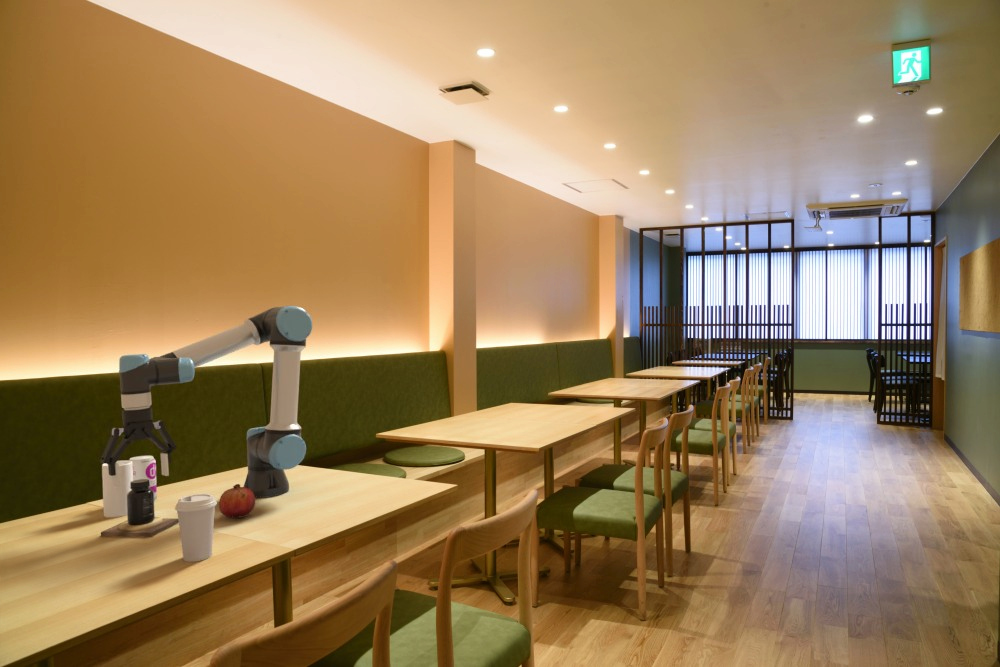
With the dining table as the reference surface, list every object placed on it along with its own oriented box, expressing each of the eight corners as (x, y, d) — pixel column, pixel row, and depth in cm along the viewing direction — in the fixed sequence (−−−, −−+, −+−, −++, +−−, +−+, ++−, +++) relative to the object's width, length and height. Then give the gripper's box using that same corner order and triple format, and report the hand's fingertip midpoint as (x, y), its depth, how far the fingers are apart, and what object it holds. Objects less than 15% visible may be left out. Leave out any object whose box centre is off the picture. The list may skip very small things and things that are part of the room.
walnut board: (179, 522, 191) (178, 515, 191) (151, 536, 178) (150, 529, 178) (132, 522, 193) (131, 515, 193) (100, 536, 180) (100, 529, 180)
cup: (139, 511, 204) (138, 461, 204) (114, 518, 197) (113, 466, 197) (122, 508, 208) (121, 459, 208) (97, 515, 200) (96, 464, 200)
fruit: (261, 516, 195) (260, 484, 195) (229, 524, 188) (228, 490, 188) (245, 510, 203) (244, 478, 202) (213, 518, 195) (212, 485, 195)
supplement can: (162, 498, 219) (160, 455, 219) (146, 505, 211) (145, 460, 211) (139, 498, 220) (138, 455, 220) (123, 505, 212) (121, 460, 212)
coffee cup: (185, 551, 166) (184, 493, 166) (223, 549, 167) (222, 491, 167) (170, 565, 157) (168, 503, 156) (210, 562, 157) (208, 502, 157)
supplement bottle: (155, 517, 190) (153, 477, 190) (154, 523, 184) (153, 481, 184) (128, 521, 187) (127, 480, 187) (126, 527, 181) (125, 485, 181)
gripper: (173, 401, 197) (177, 469, 198) (83, 413, 177) (88, 489, 178) (186, 402, 193) (190, 472, 194) (95, 415, 173) (100, 493, 174)
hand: (141, 480), depth 186 cm, fingers open, 13 cm apart
